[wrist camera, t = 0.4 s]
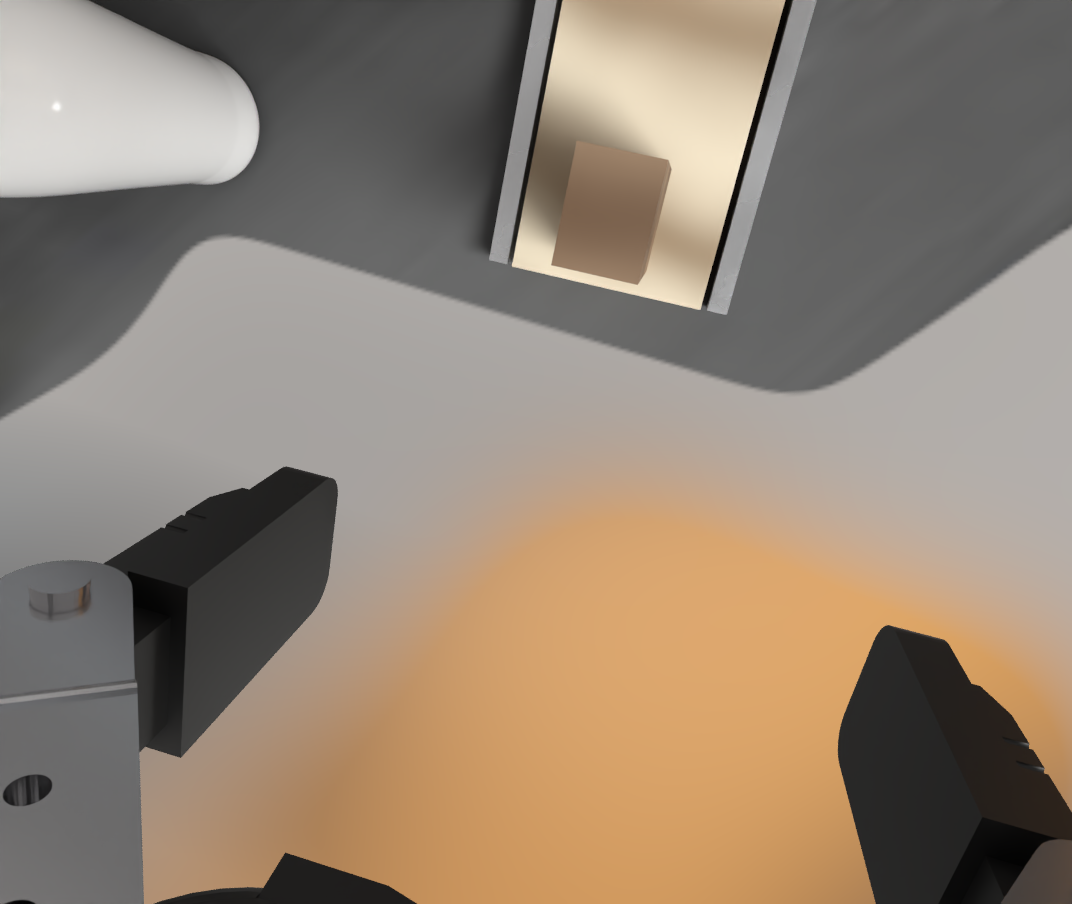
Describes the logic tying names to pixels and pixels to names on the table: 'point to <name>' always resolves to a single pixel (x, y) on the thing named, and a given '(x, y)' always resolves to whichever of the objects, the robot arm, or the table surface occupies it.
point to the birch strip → (643, 141)
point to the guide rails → (754, 170)
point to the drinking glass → (112, 105)
